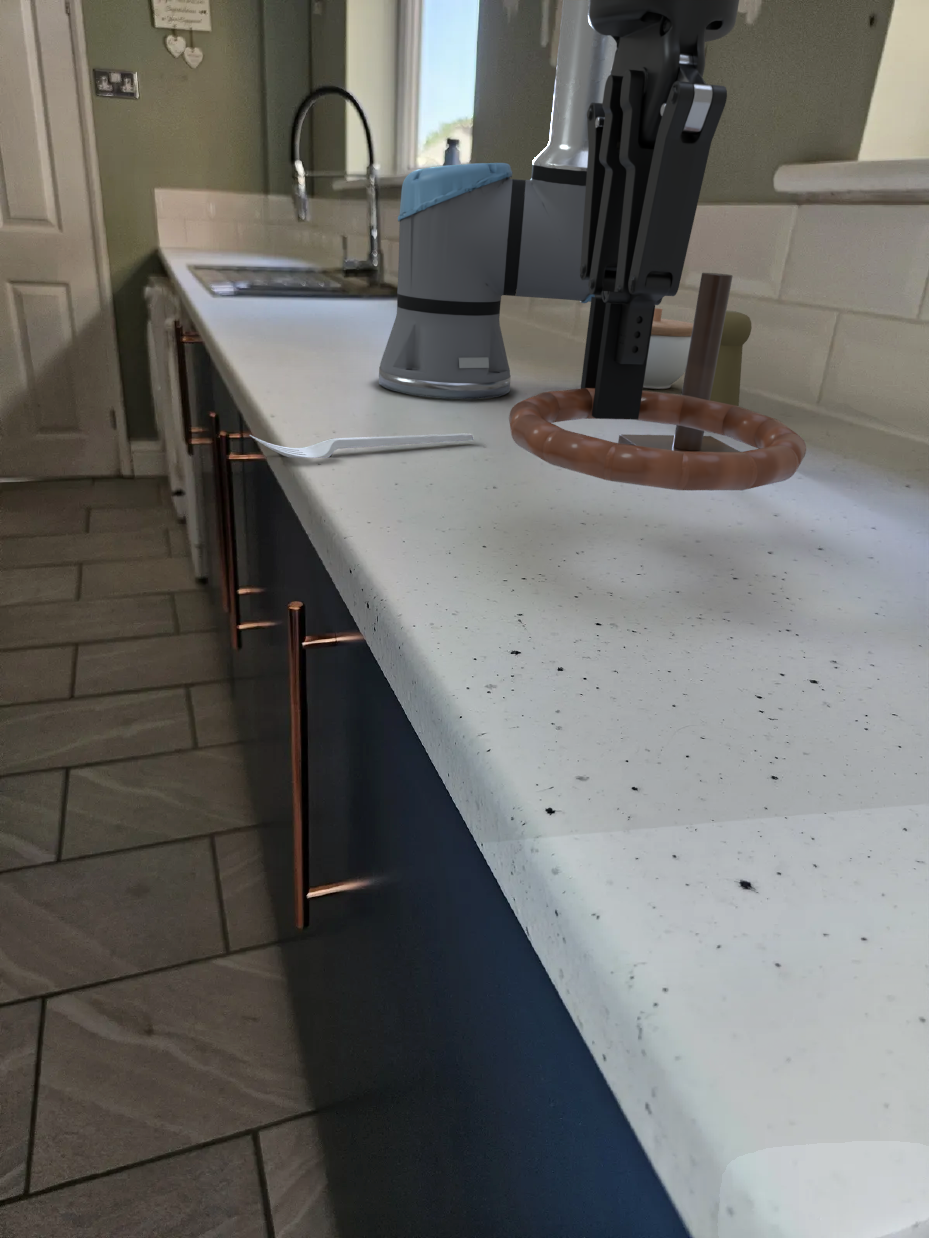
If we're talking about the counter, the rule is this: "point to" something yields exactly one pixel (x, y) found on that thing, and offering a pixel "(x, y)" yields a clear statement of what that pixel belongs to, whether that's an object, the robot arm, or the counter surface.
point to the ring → (655, 465)
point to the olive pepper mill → (730, 358)
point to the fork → (361, 444)
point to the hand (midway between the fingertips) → (607, 412)
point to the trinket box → (667, 351)
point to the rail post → (698, 368)
